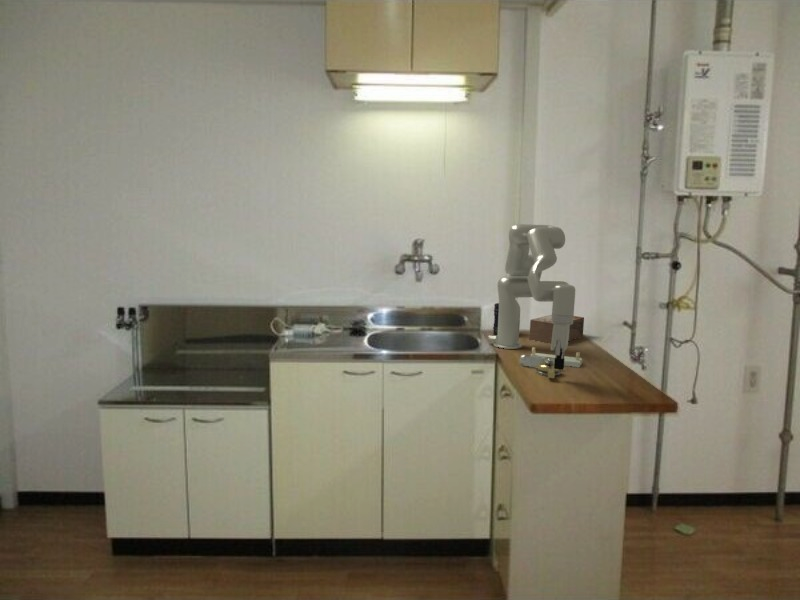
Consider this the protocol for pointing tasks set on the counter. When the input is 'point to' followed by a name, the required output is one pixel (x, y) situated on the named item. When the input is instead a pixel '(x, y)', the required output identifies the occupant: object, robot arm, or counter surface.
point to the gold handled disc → (548, 368)
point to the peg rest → (567, 360)
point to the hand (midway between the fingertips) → (558, 368)
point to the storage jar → (496, 319)
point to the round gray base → (546, 373)
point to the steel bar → (533, 360)
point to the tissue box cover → (544, 328)
